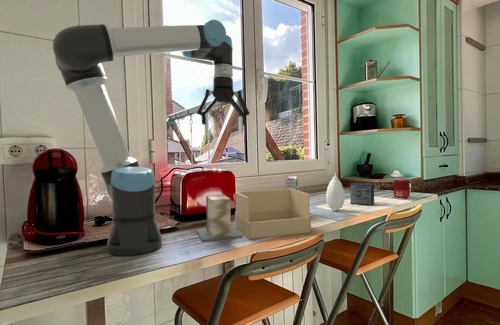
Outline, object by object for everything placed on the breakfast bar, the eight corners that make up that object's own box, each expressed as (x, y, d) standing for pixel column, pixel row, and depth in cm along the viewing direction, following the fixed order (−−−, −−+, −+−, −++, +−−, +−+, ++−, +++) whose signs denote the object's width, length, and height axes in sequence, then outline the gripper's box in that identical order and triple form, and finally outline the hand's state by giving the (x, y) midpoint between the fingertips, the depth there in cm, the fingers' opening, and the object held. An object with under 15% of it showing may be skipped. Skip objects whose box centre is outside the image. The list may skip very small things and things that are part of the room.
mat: (202, 241, 93) (202, 239, 93) (196, 230, 105) (196, 229, 105) (242, 237, 97) (242, 235, 97) (232, 227, 109) (232, 225, 109)
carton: (248, 239, 95) (248, 198, 94) (235, 227, 110) (234, 191, 109) (311, 232, 102) (311, 194, 101) (290, 221, 117) (290, 188, 116)
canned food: (412, 199, 164) (412, 179, 164) (397, 199, 164) (397, 179, 164) (405, 196, 172) (405, 177, 171) (391, 196, 172) (391, 177, 172)
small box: (374, 204, 151) (374, 183, 151) (372, 206, 146) (372, 184, 146) (353, 202, 157) (353, 182, 157) (350, 204, 152) (350, 183, 151)
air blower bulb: (337, 208, 141) (337, 170, 140) (347, 211, 134) (347, 171, 133) (323, 209, 139) (323, 171, 138) (332, 213, 131) (332, 172, 130)
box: (212, 237, 95) (211, 200, 94) (206, 229, 104) (206, 195, 104) (230, 235, 97) (230, 198, 96) (223, 228, 106) (223, 194, 106)
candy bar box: (287, 212, 134) (287, 175, 134) (298, 212, 133) (298, 175, 133) (285, 217, 123) (285, 178, 123) (297, 218, 122) (297, 178, 122)
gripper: (191, 73, 107) (192, 132, 108) (256, 77, 115) (257, 132, 116) (188, 78, 114) (190, 133, 115) (250, 81, 122) (251, 133, 123)
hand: (223, 133), depth 116 cm, fingers open, 13 cm apart
